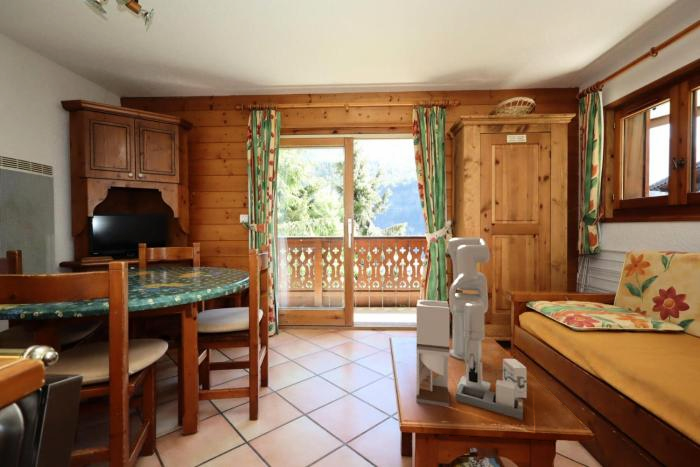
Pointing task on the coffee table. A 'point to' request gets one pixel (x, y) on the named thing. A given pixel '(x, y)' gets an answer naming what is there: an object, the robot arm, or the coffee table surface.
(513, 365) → the ink box
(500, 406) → the power strip
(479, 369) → the plug
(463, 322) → the robot arm
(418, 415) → the coffee table surface
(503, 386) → the off-white rectangular block
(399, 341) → the coffee table surface
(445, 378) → the display case
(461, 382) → the mat
